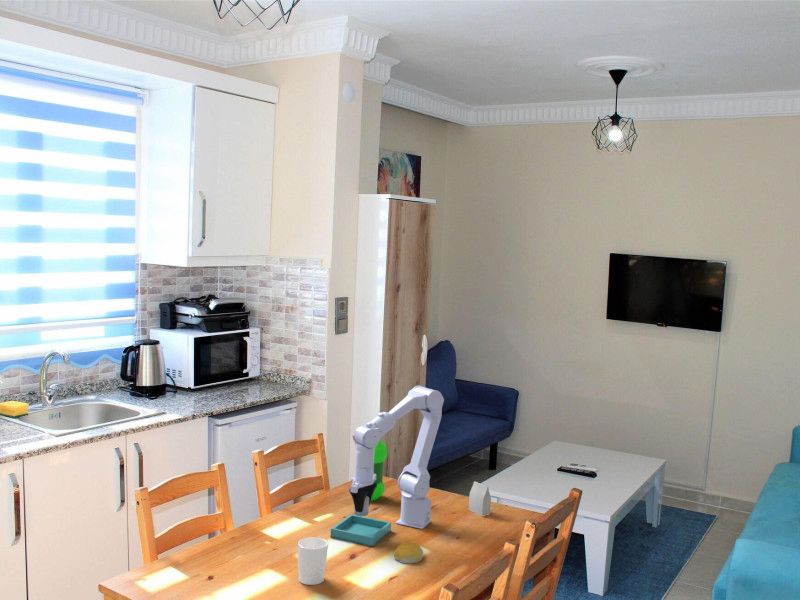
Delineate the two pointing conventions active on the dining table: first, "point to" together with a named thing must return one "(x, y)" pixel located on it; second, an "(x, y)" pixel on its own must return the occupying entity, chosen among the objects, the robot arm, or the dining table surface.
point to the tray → (361, 530)
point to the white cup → (312, 560)
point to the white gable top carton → (479, 499)
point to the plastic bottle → (379, 469)
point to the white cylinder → (365, 509)
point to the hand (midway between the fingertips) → (362, 509)
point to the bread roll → (408, 553)
